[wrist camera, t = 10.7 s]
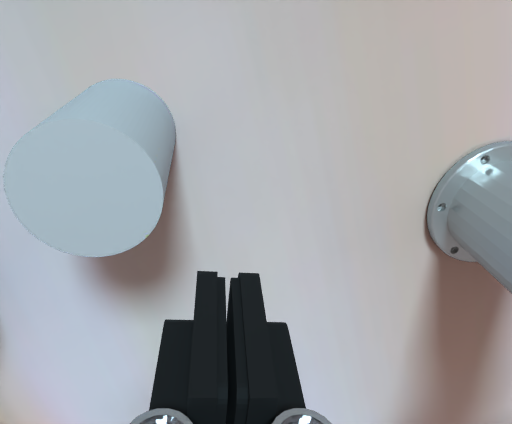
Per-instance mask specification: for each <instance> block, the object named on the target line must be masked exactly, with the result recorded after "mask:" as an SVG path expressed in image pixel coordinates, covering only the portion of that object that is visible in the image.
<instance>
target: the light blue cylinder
mask: <svg viewBox="0 0 512 424" xmlns="http://www.w3.org/2000/svg"><path fill="white" fill-rule="evenodd" d="M175 140H176V129H175V123H174V120H173V117H172V114H171V112H170V110H169V108H168V107H167V105H166V104H165V103H164V101H163V100H162V99H161V98H160V97H159V96H158V95H157V94H156V93H155V92H153V91H152V90H151V89H149V88H147V87H146V86H144V85H142V84H139V83H137V82H134V81H130V80H124V79H110V80H105V81H101V82H99V83H96V84H94V85H92V86H91V87H89V88H88V89H86V90H85V91H84V92H82V93H81V94H79V95H78V96H77V97H75V98H74V99H73V100H71V101H70V102H69V103H67V104H66V105H65V106H63V107H62V108H60V109H59V110H58V111H56V112H55V113H54V114H52V115H51V116H50V117H48V118H47V119H45V120H44V121H43V122H41V123H40V124H39V125H37V126H36V127H35V128H33V129H32V130H30V131H29V132H28V133H26V134H25V135H24V136H23V137H22V138H21V139H20V140H19V141H18V142H17V143H16V144H15V146H14V147H13V148H12V150H11V152H10V154H9V156H8V158H7V161H6V164H5V169H4V189H5V194H6V197H7V200H8V203H9V205H10V207H11V209H12V211H13V213H14V215H15V216H16V218H17V219H18V220H19V222H20V223H21V224H22V225H23V226H24V227H25V228H26V229H27V230H28V231H29V232H30V233H31V234H32V235H33V236H35V237H36V238H37V239H39V240H40V241H42V242H43V243H45V244H47V245H48V246H50V247H52V248H54V249H57V250H59V251H62V252H65V253H68V254H72V255H77V256H83V257H105V256H111V255H115V254H119V253H122V252H124V251H127V250H129V249H131V248H133V247H135V246H136V245H138V244H139V243H140V242H142V241H143V240H144V239H145V238H146V237H147V236H148V235H149V234H150V233H151V232H152V230H153V229H154V227H155V226H156V224H157V222H158V220H159V218H160V215H161V212H162V207H163V202H164V197H165V192H166V187H167V182H168V177H169V171H170V166H171V161H172V156H173V151H174V146H175Z"/></svg>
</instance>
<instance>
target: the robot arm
mask: <svg viewBox="0 0 512 424" xmlns="http://www.w3.org/2000/svg"><path fill="white" fill-rule="evenodd" d="M427 224H428V229H429V232H430V236H431V237H432V239H433V241H434V242H435V244H436V245H437V246H438V247H439V248H440V249H441V250H442V251H443V252H444V253H446V254H447V255H448V256H450V257H452V258H455V259H457V260H461V261H467V262H478V263H479V264H481V265H482V266H483V267H484V268H485V269H486V270H487V271H488V272H489V273H490V274H491V275H492V276H493V277H494V278H496V279H497V280H498V281H499V282H500V283H501V284H502V285H503V286H504V287H505V288H506V289H507V290H508V291H509V292H511V293H512V141H503V142H497V143H492V144H489V145H487V146H484V147H481V148H479V149H477V150H475V151H473V152H471V153H469V154H468V155H466V156H465V157H464V158H462V159H461V160H459V161H458V162H457V163H456V164H455V165H454V166H453V167H452V168H451V169H450V170H449V171H448V172H447V173H446V174H445V175H444V177H443V178H442V179H441V181H440V182H439V183H438V185H437V187H436V189H435V191H434V192H433V194H432V197H431V200H430V203H429V206H428V213H427ZM130 424H332V423H330V422H329V421H328V420H327V419H326V418H325V417H324V416H322V415H321V414H319V413H317V412H315V411H312V410H309V409H306V407H305V403H304V398H303V394H302V389H301V384H300V380H299V375H298V371H297V366H296V362H295V357H294V353H293V348H292V344H291V339H290V335H289V330H288V327H287V324H286V323H283V322H267V321H266V315H265V308H264V302H263V296H262V289H261V283H260V277H259V274H258V273H239V274H238V278H231V281H230V291H229V301H228V311H227V322H226V295H225V277H217V272H209V271H198V272H197V284H196V297H195V310H194V320H165V322H164V327H163V333H162V338H161V344H160V350H159V356H158V362H157V367H156V373H155V379H154V385H153V391H152V397H151V402H150V408H149V411H147V412H145V413H143V414H141V415H139V416H138V417H136V418H135V419H134V420H133V421H132V422H131V423H130Z"/></svg>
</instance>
